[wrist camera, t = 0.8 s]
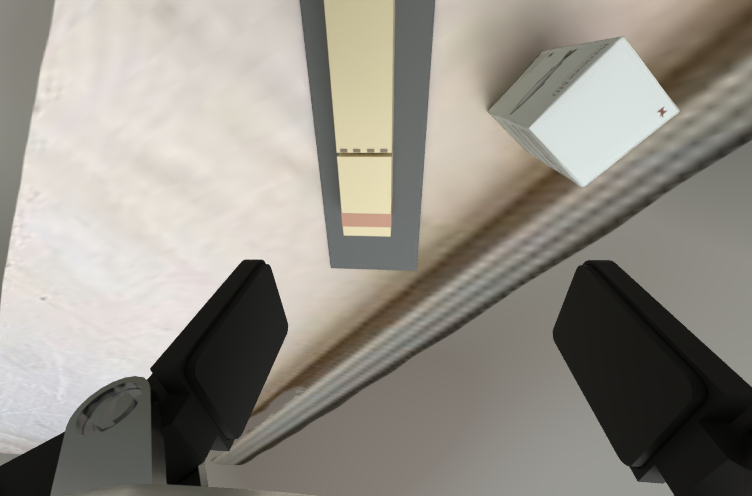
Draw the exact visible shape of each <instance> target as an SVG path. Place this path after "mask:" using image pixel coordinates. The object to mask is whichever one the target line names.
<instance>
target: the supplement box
mask: <svg viewBox="0 0 752 496" xmlns="http://www.w3.org/2000/svg"><path fill="white" fill-rule="evenodd" d="M679 111H680V110H679V109H678V107H677V106H676V105H675V104H674V102H673V101H672V100H671V99H670V97H669V96H668V95H667V94H666V92H665V91H664V90H663V88H662V87H661V86H660V84H659V83H658V82H657V80H656V79H655V77H654V76H653V75H652V73H651V72H650V71H649V69H648V68H647V67H646V65H645V64H644V63H643V61H642V60H641V59H640V57H639V56H638V55H637V53H636V52H635V51H634V49H633V48H632V46H631V45H630V44H629V42H628V41H627V40H626V39H625V38H624V37H623V36H621V37H616V38H611V39H606V40H600V41H594V42H589V43H583V44H578V45H572V46H567V47H561V48H555V49H550V50H544V51H542V52H541V53H540V55H539V56H538V57H537V58H536V59H535V60H534V62H533V63H532V64H531V65H530V66H529V67H528V68H527V70H526V71H525V72H524V73H523V74H522V75H521V76H520V77H519V78H518V80H517V81H516V82H515V83H514V84H513V85H512V86H511V87H510V88H509V89H508V90H507V91H506V92H505V94H504V95H503V96H502V97H501V98H500V99H499V100H498V101H497V102H496V103H495V104H494V105H493V106H492V107H491V108H490V109H489V110H488V113H489V114H490V115H491V116H492V117H493V118H494V119H495V120H496V121H497V122H498V123H499V124H500V125H501V126H502V127H503V128H504V129H505V130H506V131H507V132H508V133H509V134H510V135H511V136H512V137H513V138H514V139H515V140H516V141H517V142H518V143H519V144H520V145H521V146H522V147H523V148H524V149H525V150H526V151H527V152H528V153H530V154H531V155H533V156H534V157H536V158H537V159H539V160H540V161H542V162H543V163H545V164H547V165H548V166H550V167H551V168H553V169H555V170H556V171H558V172H560V173H561V174H563V175H564V176H566V177H568V178H569V179H571V180H572V181H574V182H575V183H576V184H578V185H579V186H580V187H584V186H586V185H588V184H589V183H590V182H591V181H593V180H594V179H595V178H596V177H598V176H599V175H600V174H601V173H603V172H604V171H605V170H606V169H608V168H609V167H610V166H611V165H613V164H614V163H615V162H616V161H618V160H619V159H620V158H621V157H623V156H624V155H625V154H627V153H628V152H630V151H631V150H632V149H633V148H634V147H636V146H637V145H638V144H639V143H640V142H642V141H643V140H644V139H645V138H647V137H648V136H649V135H650V134H652V133H653V132H654V131H656V130H657V129H658V128H659V127H661V126H662V125H663V124H664V123H666V122H667V121H668V120H670V119H671V118H672V117H674V116H675V115H676V114H677V113H679Z"/></svg>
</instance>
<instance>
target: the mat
mask: <svg viewBox="0 0 752 496" xmlns="http://www.w3.org/2000/svg"><path fill="white" fill-rule="evenodd" d="M300 6H301V14H302V23H303V31H304V40H305V49H306V57H307V66H308V74H309V83H310V91H311V100H312V109H313V117H314V126H315V134H316V143H317V151H318V160H319V169H320V177H321V186H322V194H323V203H324V211H325V220H326V228H327V237H328V246H329V254H330V263H331V268H346V269H377V270H408V271H417V257H418V243H419V228H420V213H421V199H422V184H423V169H424V155H425V140H426V125H427V111H428V96H429V81H430V67H431V52H432V37H433V23H434V8H435V0H395V53H394V126H393V194H392V195H393V210H392V225H391V237H388V236H345V235H344V234H343V226H342V217H341V213H342V210H341V198H340V186H339V174H338V162H337V156H338V155H339V154H340V153H337V151H336V139H335V127H334V115H333V103H332V91H331V79H330V67H329V55H328V43H327V31H326V19H325V7H324V0H300Z"/></svg>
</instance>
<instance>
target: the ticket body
mask: <svg viewBox="0 0 752 496" xmlns="http://www.w3.org/2000/svg"><path fill="white" fill-rule="evenodd" d="M324 7H325V19H326V31H327V43H328V55H329V67H330V79H331V91H332V103H333V115H334V127H335V139H336V151H337V153H392V146H393V126H394V53H395V0H324Z"/></svg>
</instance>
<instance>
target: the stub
mask: <svg viewBox="0 0 752 496" xmlns="http://www.w3.org/2000/svg"><path fill="white" fill-rule="evenodd" d="M337 162H338V174H339V186H340V198H341V210H342V213H341V217H342V226H343V234H344V235H345V236H388V237H391V225H392V210H393V195H392V194H393V146H392V153H340V154H339V155H338V156H337Z"/></svg>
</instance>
